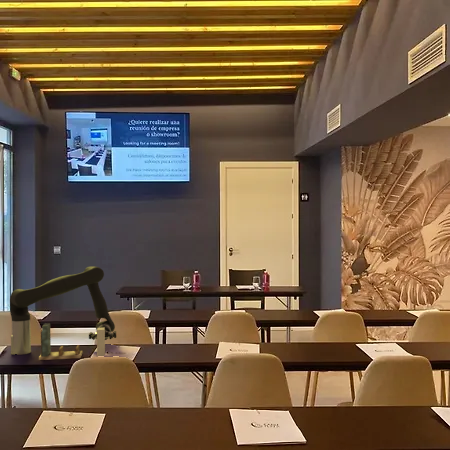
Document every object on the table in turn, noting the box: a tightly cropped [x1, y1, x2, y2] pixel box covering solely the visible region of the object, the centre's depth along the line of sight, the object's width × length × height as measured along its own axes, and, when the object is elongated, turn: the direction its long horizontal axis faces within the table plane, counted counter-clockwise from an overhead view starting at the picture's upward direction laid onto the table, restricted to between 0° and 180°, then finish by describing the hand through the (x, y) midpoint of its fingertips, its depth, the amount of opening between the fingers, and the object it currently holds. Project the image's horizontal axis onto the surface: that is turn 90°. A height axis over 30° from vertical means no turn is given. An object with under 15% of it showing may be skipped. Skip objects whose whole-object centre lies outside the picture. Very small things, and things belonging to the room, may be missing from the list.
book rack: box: [38, 322, 83, 361], centre depth 281 cm, size 20×10×16 cm, turn 99°
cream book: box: [96, 327, 106, 357], centre depth 281 cm, size 4×6×14 cm, turn 9°
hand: (102, 337), depth 290 cm, fingers open, 8 cm apart
